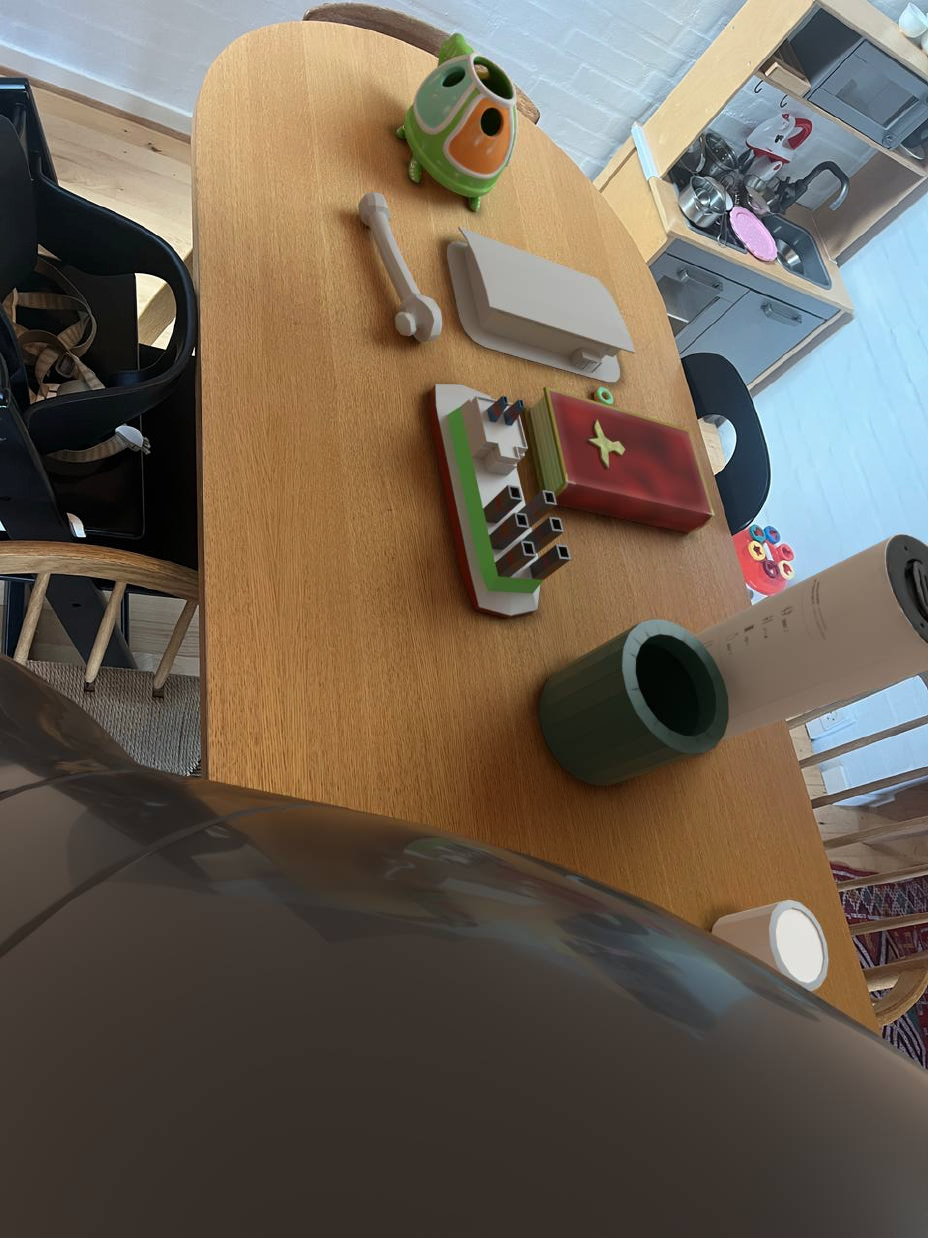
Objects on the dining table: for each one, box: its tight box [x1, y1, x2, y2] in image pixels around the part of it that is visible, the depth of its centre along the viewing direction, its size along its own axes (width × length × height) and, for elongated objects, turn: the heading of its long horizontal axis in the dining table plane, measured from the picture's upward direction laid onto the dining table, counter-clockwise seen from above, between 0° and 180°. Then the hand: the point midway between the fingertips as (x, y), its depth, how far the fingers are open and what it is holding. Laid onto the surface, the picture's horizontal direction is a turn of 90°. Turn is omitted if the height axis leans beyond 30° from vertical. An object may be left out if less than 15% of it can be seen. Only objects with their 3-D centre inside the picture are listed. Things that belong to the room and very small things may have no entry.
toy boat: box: [428, 383, 572, 619], centre depth 71 cm, size 8×25×8 cm, turn 12°
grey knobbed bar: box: [357, 191, 443, 343], centre depth 78 cm, size 18×5×4 cm, turn 18°
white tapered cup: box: [710, 899, 830, 992], centre depth 65 cm, size 7×7×7 cm
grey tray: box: [446, 226, 636, 384], centre depth 89 cm, size 15×23×4 cm, turn 101°
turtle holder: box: [396, 32, 519, 212], centre depth 89 cm, size 12×18×12 cm
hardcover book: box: [523, 386, 716, 534], centre depth 84 cm, size 12×21×4 cm, turn 98°
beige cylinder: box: [693, 532, 928, 742], centre depth 67 cm, size 11×10×26 cm
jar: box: [539, 618, 729, 787], centre depth 65 cm, size 11×11×11 cm
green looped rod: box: [593, 386, 614, 406], centre depth 91 cm, size 2×10×1 cm, turn 79°
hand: (419, 999), depth 42 cm, fingers closed on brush, 2 cm apart
